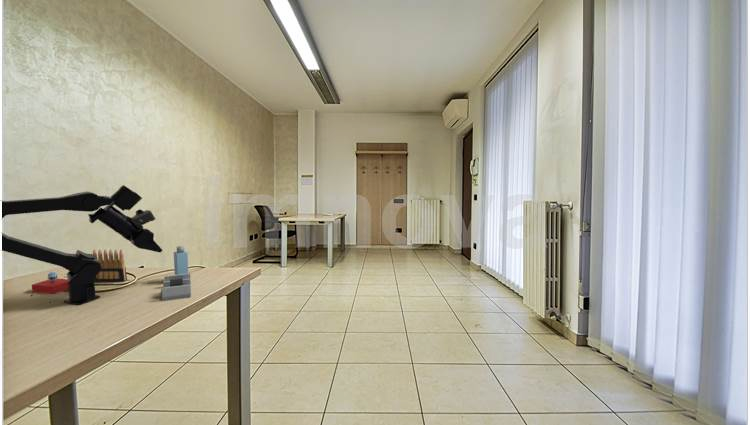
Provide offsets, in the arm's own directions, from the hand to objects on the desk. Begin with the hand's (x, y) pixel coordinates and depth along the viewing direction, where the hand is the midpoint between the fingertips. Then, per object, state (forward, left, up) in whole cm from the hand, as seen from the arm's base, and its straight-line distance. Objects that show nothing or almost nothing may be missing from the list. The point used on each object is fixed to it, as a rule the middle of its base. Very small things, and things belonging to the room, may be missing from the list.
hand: (157, 248), depth 120 cm
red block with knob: (-29, -14, -14) cm, 35 cm away
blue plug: (+4, +6, -13) cm, 15 cm away
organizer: (+11, -3, -13) cm, 18 cm away
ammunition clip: (-20, -2, -14) cm, 24 cm away
